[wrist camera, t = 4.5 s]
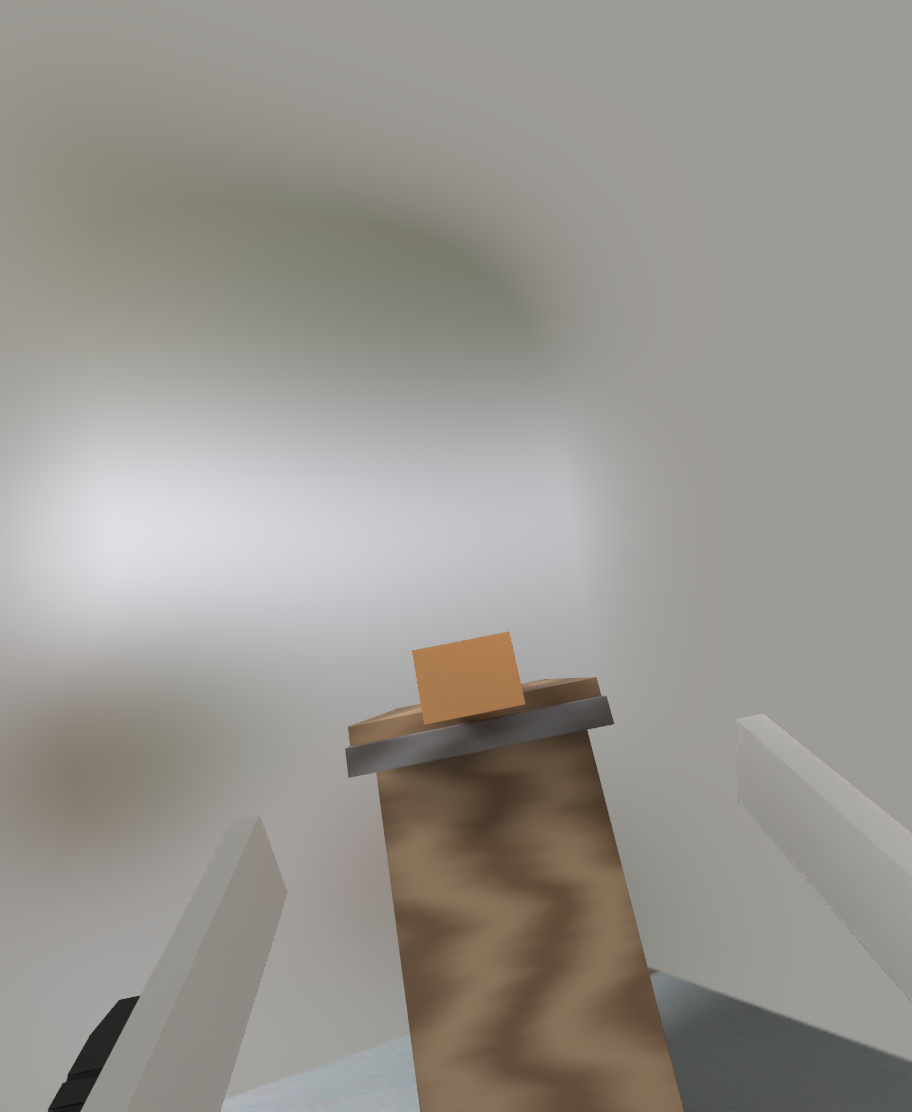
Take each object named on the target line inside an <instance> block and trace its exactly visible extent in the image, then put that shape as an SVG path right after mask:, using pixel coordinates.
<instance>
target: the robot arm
mask: <svg viewBox="0 0 912 1112" xmlns="http://www.w3.org/2000/svg"><path fill="white" fill-rule="evenodd" d="M736 738H737V776H738V777H737V778H738V802H739V803H740V804H741V805H742V807H743V808H744V809H745V810H746V811H747V812H748V813H749V815H750V816H751V817H752V818H753V819H754V820H755V822H756V823H757V824H758V825H759V826H760V827H761V829H763V831H764V832H765V833H766V834H767V835H768V837H769V838H770V839H771V840H772V841H773V842H774V843H775V845H776V846H777V847H778V848H779V849H780V850H781V852H782V853H783V854H784V855H785V856H786V857H787V859H788V860H789V861H790V862H791V863H792V864H793V865H794V867H795V868H796V869H797V870H798V871H799V872H800V873H801V875H802V876H803V877H804V878H805V879H806V880H807V882H808V883H809V884H810V885H811V886H812V887H813V889H814V890H815V891H816V892H817V893H818V894H819V895H820V897H821V898H822V899H823V900H824V901H825V902H826V903H827V905H828V906H829V907H830V908H831V909H832V910H833V912H834V913H835V914H836V915H837V916H838V917H839V918H840V920H841V921H842V922H843V923H844V924H845V925H846V926H847V928H848V929H849V930H850V931H851V932H852V933H853V935H854V936H855V937H856V938H857V939H858V941H859V942H860V943H861V944H862V945H863V946H864V947H865V949H866V950H867V951H868V952H869V953H870V954H871V956H872V957H873V958H874V959H875V960H876V961H877V962H878V963H879V965H880V966H881V967H882V968H883V969H884V970H885V972H886V973H887V974H888V975H889V976H890V977H891V979H892V980H893V981H894V982H895V983H896V984H897V985H898V986H899V988H900V989H901V990H902V991H903V992H904V994H905V995H906V996H907V997H908V998H909V999H910V1001H911V1002H912V833H910V832H909V831H908V830H907V829H906V828H904V827H903V826H902V825H901V824H899V823H898V822H897V821H896V820H894V819H893V818H892V817H891V816H889V815H888V814H887V813H885V812H884V811H883V810H882V809H881V808H880V807H878V806H877V805H876V804H875V803H873V802H872V801H871V800H870V799H868V798H867V797H866V796H864V795H863V794H862V793H861V792H860V791H858V790H857V789H856V788H855V787H853V786H852V785H851V784H850V783H849V782H847V781H846V780H845V779H843V778H842V777H841V776H840V775H839V774H837V773H836V772H835V771H834V770H832V769H831V768H830V767H829V766H827V765H826V764H825V763H824V762H823V761H821V760H820V759H819V758H818V757H816V756H815V755H814V754H813V753H811V752H810V751H809V750H808V749H806V748H805V747H804V746H803V745H801V744H800V743H799V742H798V741H796V740H795V739H794V738H793V737H792V736H790V735H789V734H788V733H786V732H785V731H784V730H783V729H782V728H780V727H779V726H778V725H777V724H775V723H774V722H773V721H772V720H770V719H769V718H768V717H767V716H765V715H764V714H760V715H755V716H750V717H745V718H740V719H736ZM287 894H288V892H287V889H286V887H285V884H284V881H283V879H282V876H281V873H280V870H279V867H278V864H277V862H276V859H275V856H274V853H273V851H272V847H271V845H270V842H269V839H268V836H267V833H266V831H265V828H264V825H263V823H262V820H261V817H260V815H254V816H249V817H244V818H239V819H234V820H231V822H230V824H229V826H228V828H227V830H226V832H225V833H224V835H223V837H222V839H221V841H220V843H219V845H218V847H217V849H216V851H215V853H214V855H213V857H212V858H211V860H210V862H209V864H208V866H207V868H206V870H205V872H204V874H203V876H202V878H201V880H200V882H199V884H198V886H197V888H196V890H195V891H194V893H193V895H192V897H191V899H190V901H189V903H188V905H187V907H186V909H185V911H184V913H183V914H182V916H181V919H180V920H179V922H178V924H177V926H176V928H175V930H174V932H173V934H172V936H171V938H170V940H169V942H168V944H167V946H166V947H165V949H164V951H163V953H162V955H161V957H160V959H159V961H158V963H157V965H156V967H155V969H154V971H153V973H152V974H151V976H150V978H149V980H148V982H147V984H146V986H145V988H144V990H143V992H142V994H141V996H136V997H131V998H127V999H122V1000H119V1001H118V1002H117V1003H116V1005H115V1006H114V1007H113V1008H112V1009H111V1011H110V1012H109V1013H108V1014H107V1015H106V1017H105V1018H104V1019H103V1020H102V1022H101V1023H100V1024H99V1025H98V1026H97V1028H96V1029H95V1030H94V1031H93V1032H92V1034H91V1035H90V1036H89V1038H88V1040H87V1042H86V1043H85V1045H84V1047H83V1049H82V1050H81V1052H80V1054H79V1056H78V1057H77V1059H76V1061H75V1063H74V1065H73V1066H72V1068H71V1070H70V1071H69V1073H68V1078H67V1081H66V1082H65V1083H63V1084H62V1086H61V1088H60V1089H59V1091H58V1093H57V1094H56V1096H55V1098H54V1100H53V1101H52V1103H51V1105H50V1107H49V1109H48V1112H220V1111H221V1107H222V1104H223V1101H224V1098H225V1094H226V1091H227V1088H228V1085H229V1082H230V1078H231V1075H232V1072H233V1069H234V1065H235V1062H236V1059H237V1056H238V1052H239V1049H240V1046H241V1043H242V1039H243V1036H244V1033H245V1030H246V1026H247V1023H248V1020H249V1016H250V1013H251V1010H252V1007H253V1003H254V1001H255V997H256V994H257V991H258V988H259V984H260V981H261V977H262V975H263V971H264V968H265V965H266V962H267V958H268V955H269V952H270V949H271V945H272V942H273V939H274V936H275V933H276V929H277V926H278V923H279V920H280V916H281V913H282V910H283V907H284V903H285V900H286V897H287Z"/></svg>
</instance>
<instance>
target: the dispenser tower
mask: <svg viewBox="0 0 912 1112" xmlns="http://www.w3.org/2000/svg"><path fill="white" fill-rule="evenodd" d="M521 687H522V691H523V696H524V700H525V705H520V706H515V707H510V708H505V709H500V710H495V711H490V712H485V713H480V714H475V715H470V716H465V717H460V718H455V719H450V720H445V721H440V722H435V723H430V724H425V725H424V721H423V715H422V709H421V704H418V705H413V706H408V707H403V708H399V709H395V710H393V711H390V712H387V713H384V714H382V715H379V716H376V717H374V718H371V719H368V720H366V721H363V722H360V723H357V724H355V725H352V726H349V727H348V731H349V740H350V747H348V748H346V749H345V751H346V759H347V768H348V777H349V778H350V777H355V776H359V775H365V774H369V773H374V772H376V773H377V780H378V789H379V797H380V804H381V811H382V820H383V827H384V835H385V842H386V850H387V858H388V865H389V874H390V881H391V889H392V896H393V904H394V912H395V919H396V928H397V935H398V942H399V950H400V958H401V966H402V974H403V981H404V989H405V996H406V1005H407V1012H408V1020H409V1027H410V1036H411V1043H412V1051H413V1059H414V1066H415V1074H416V1082H417V1090H418V1097H419V1105H420V1112H684V1109H683V1105H682V1101H681V1097H680V1093H679V1089H678V1086H677V1082H676V1078H675V1074H674V1070H673V1066H672V1062H671V1058H670V1054H669V1050H668V1046H667V1042H666V1038H665V1034H664V1030H663V1026H662V1022H661V1019H660V1015H659V1011H658V1007H657V1003H656V999H655V995H654V991H653V987H652V983H651V979H650V975H649V971H648V967H647V963H646V959H645V955H644V952H643V948H642V944H641V940H640V936H639V932H638V928H637V924H636V920H635V916H634V912H633V909H632V905H631V900H630V896H629V893H628V889H627V885H626V881H625V877H624V873H623V869H622V865H621V861H620V857H619V853H618V850H617V845H616V842H615V837H614V833H613V829H612V825H611V822H610V818H609V814H608V810H607V806H606V802H605V798H604V794H603V790H602V786H601V782H600V778H599V774H598V771H597V766H596V762H595V759H594V755H593V751H592V747H591V743H590V739H589V735H588V731H587V729H592V728H597V727H602V726H607V725H612V724H614V722H613V718H612V714H611V711H610V707H609V704H608V700H607V697H606V696H601V693H600V689H599V686H598V682H597V678H596V677H594V678H568V679H544V680H539V681H534V682H529V683H524V684H521Z"/></svg>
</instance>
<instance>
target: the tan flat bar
mask: <svg viewBox="0 0 912 1112" xmlns="http://www.w3.org/2000/svg"><path fill="white" fill-rule="evenodd" d="M412 653H413V659H414V665H415V671H416V677H417V684H418V690H419V696H420V702H421V709H422V715H423V721H424V725H425V724H430V723H435V722H440V721H445V720H450V719H455V718H460V717H465V716H470V715H475V714H480V713H485V712H490V711H495V710H500V709H505V708H510V707H515V706H520V705H525V700H524V696H523V691H522V687H521V683H520V678H519V674H518V669H517V664H516V660H515V655H514V651H513V646H512V642H511V638H510V633H509V632H505V633H500V634H495V635H490V636H484V637H479V638H474V639H469V640H464V641H459V642H454V643H449V644H444V645H438V646H434V647H428V648H423V649H418V650H413V651H412Z"/></svg>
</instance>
